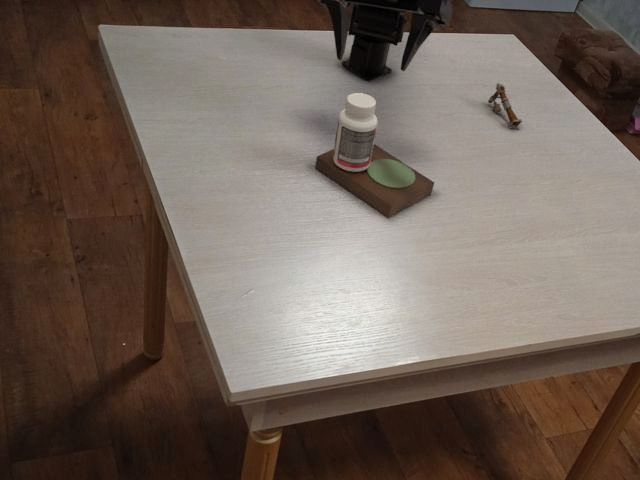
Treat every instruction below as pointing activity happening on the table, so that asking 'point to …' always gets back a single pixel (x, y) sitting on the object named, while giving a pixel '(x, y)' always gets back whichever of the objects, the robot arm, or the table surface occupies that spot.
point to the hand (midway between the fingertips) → (370, 64)
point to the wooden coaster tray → (379, 181)
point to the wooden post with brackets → (506, 104)
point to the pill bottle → (356, 133)
